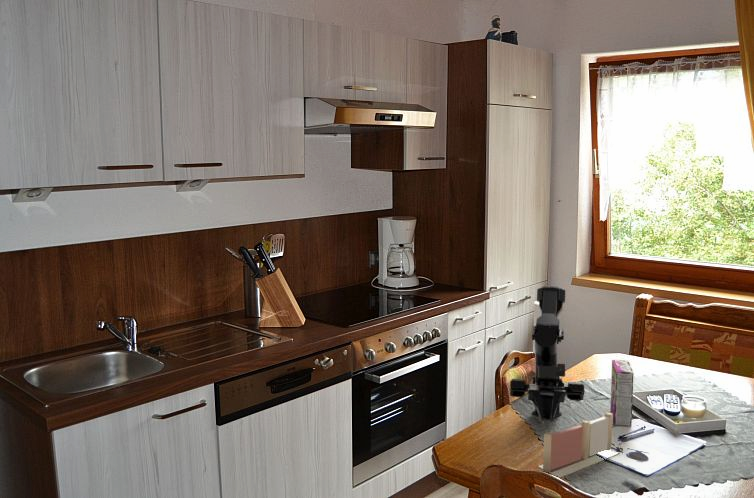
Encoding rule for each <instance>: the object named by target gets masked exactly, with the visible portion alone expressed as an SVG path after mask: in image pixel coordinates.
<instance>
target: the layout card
mask: <svg viewBox="0 0 754 498" xmlns="http://www.w3.org/2000/svg"><path fill="white" fill-rule="evenodd" d="M602 461H605V460H604V459H603V458H601V457H599V456H597V455H596V454H595V455H592V456H588V459H586V460H585V459H582V458H581V460H579V461H576V462H573V463H570V464H568V465H565V466H562V467H559V468H556V469H553V470H551V471H550V472H548V473H549V474H550V475H552V476H555V477H557V476H558V477H559V479H561V478H563V477H565V476H566V477H567V476H568V475H570V474H573V473H575V472H578V471H580V470H583V469H585V468H587V467H590V466H593V465H595V464H597V463H600V462H602ZM537 467H538V468H539V469H541V470H543V464H541V465H538V466H537ZM558 477H557V478H558Z"/></svg>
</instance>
